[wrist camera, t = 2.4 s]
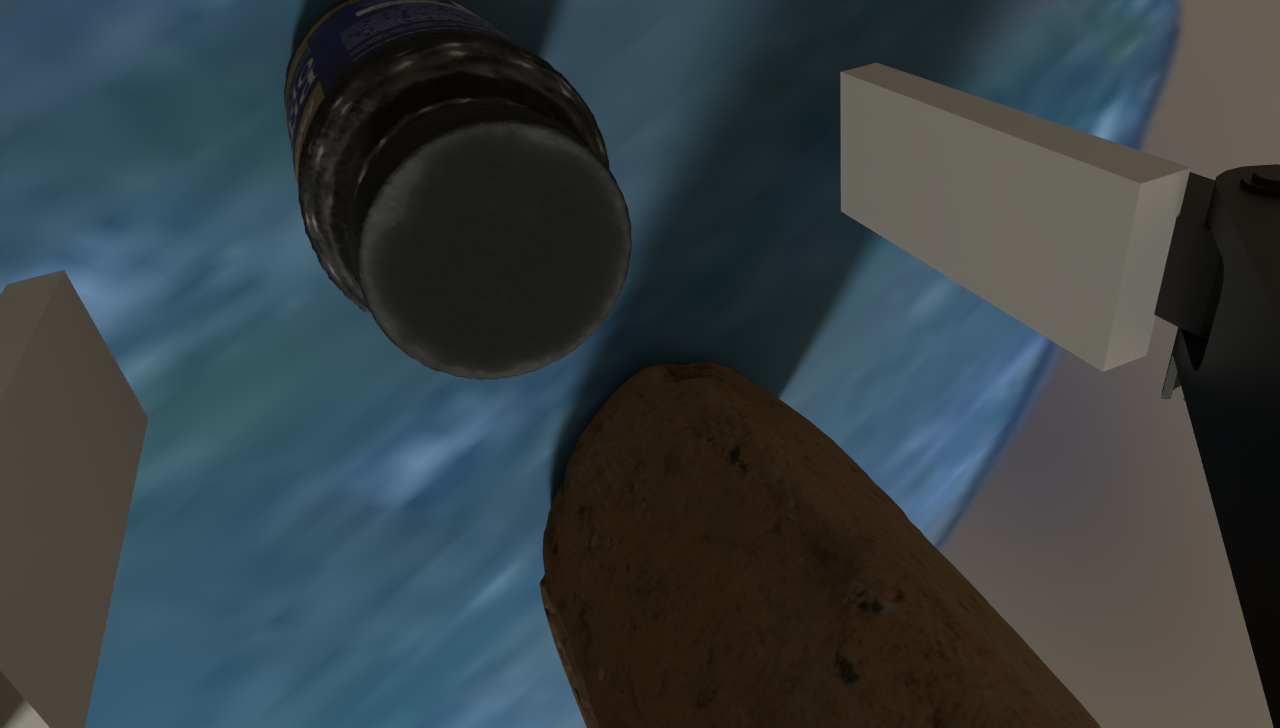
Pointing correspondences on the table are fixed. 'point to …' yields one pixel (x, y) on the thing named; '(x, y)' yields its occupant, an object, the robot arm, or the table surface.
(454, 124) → the pill bottle
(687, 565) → the block
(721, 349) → the table surface
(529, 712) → the table surface
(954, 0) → the table surface
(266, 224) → the table surface
